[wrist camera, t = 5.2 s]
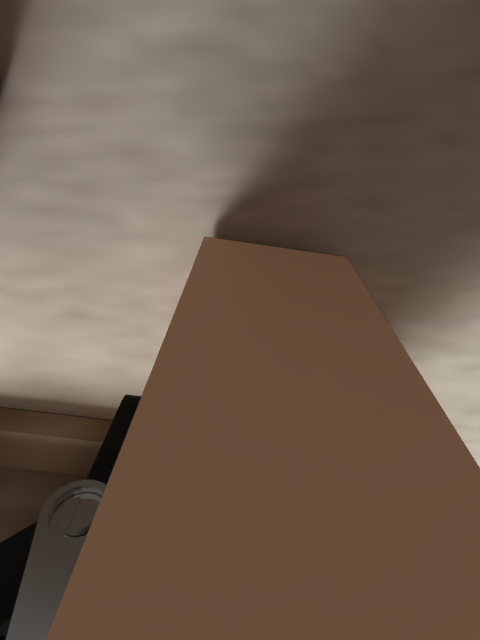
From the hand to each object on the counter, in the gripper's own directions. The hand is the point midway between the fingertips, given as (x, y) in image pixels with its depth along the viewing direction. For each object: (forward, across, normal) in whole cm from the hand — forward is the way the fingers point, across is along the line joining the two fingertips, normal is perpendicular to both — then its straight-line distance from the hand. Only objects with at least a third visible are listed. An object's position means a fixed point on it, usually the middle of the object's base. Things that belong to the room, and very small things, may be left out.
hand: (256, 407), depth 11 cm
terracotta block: (+3, 0, 0) cm, 3 cm away
